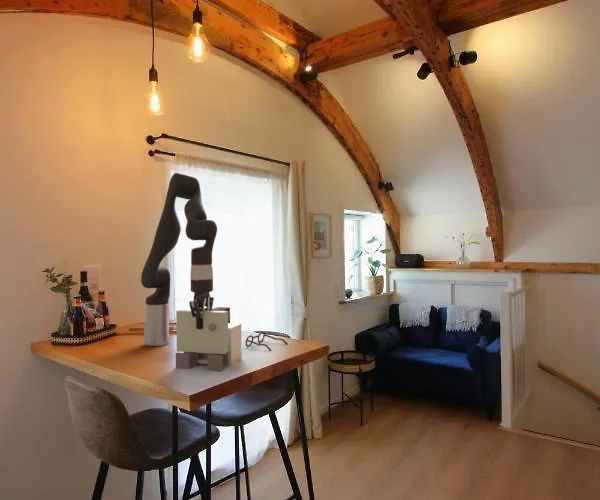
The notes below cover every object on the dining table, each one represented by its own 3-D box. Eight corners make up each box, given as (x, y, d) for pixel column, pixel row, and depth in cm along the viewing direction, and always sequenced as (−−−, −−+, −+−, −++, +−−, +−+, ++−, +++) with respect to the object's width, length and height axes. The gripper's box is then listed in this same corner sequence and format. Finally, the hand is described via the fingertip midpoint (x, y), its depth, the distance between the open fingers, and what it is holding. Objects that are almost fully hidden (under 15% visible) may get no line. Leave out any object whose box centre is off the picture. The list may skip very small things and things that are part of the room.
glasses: (263, 342, 188) (263, 330, 188) (288, 345, 181) (288, 333, 181) (244, 348, 176) (244, 336, 176) (271, 352, 170) (271, 339, 170)
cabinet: (174, 367, 147) (174, 329, 147) (197, 356, 162) (197, 321, 162) (222, 371, 142) (222, 332, 142) (241, 359, 158) (241, 323, 158)
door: (174, 352, 147) (173, 311, 147) (181, 349, 151) (180, 309, 151) (222, 355, 142) (222, 313, 142) (228, 352, 147) (227, 311, 147)
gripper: (201, 276, 155) (202, 324, 155) (181, 279, 142) (181, 331, 142) (220, 276, 153) (221, 324, 153) (201, 279, 140) (202, 332, 140)
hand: (202, 327), depth 147 cm, fingers closed on door, 3 cm apart
